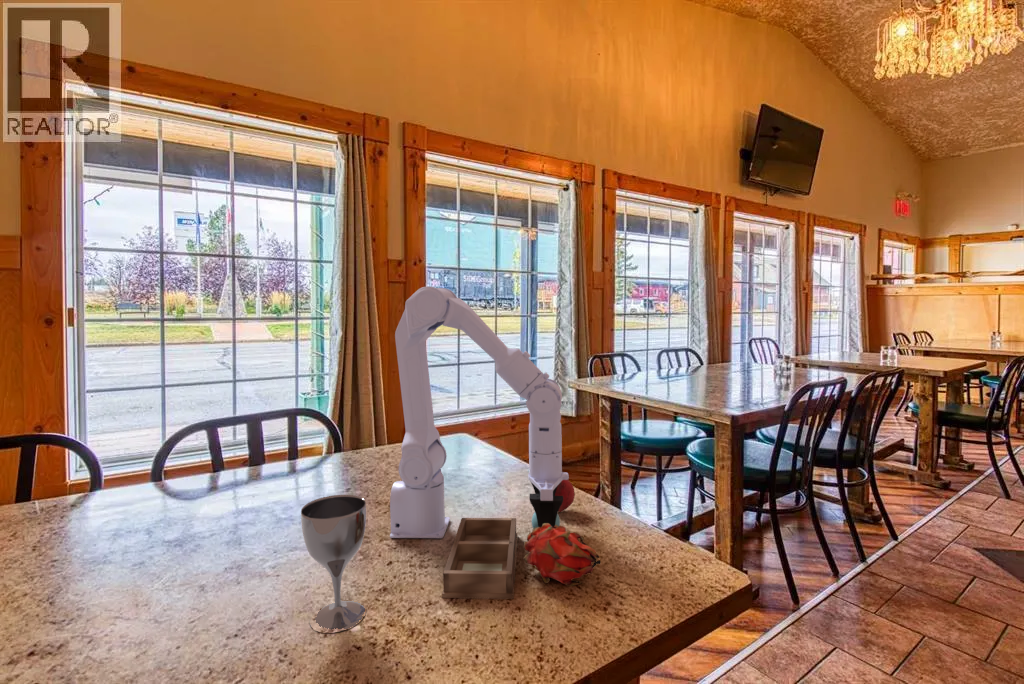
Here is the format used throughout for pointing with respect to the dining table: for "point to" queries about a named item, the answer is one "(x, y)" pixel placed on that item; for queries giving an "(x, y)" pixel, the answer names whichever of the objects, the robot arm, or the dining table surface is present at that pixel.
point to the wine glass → (335, 549)
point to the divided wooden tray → (482, 559)
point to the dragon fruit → (559, 554)
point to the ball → (535, 523)
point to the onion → (565, 494)
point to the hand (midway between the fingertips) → (546, 525)
